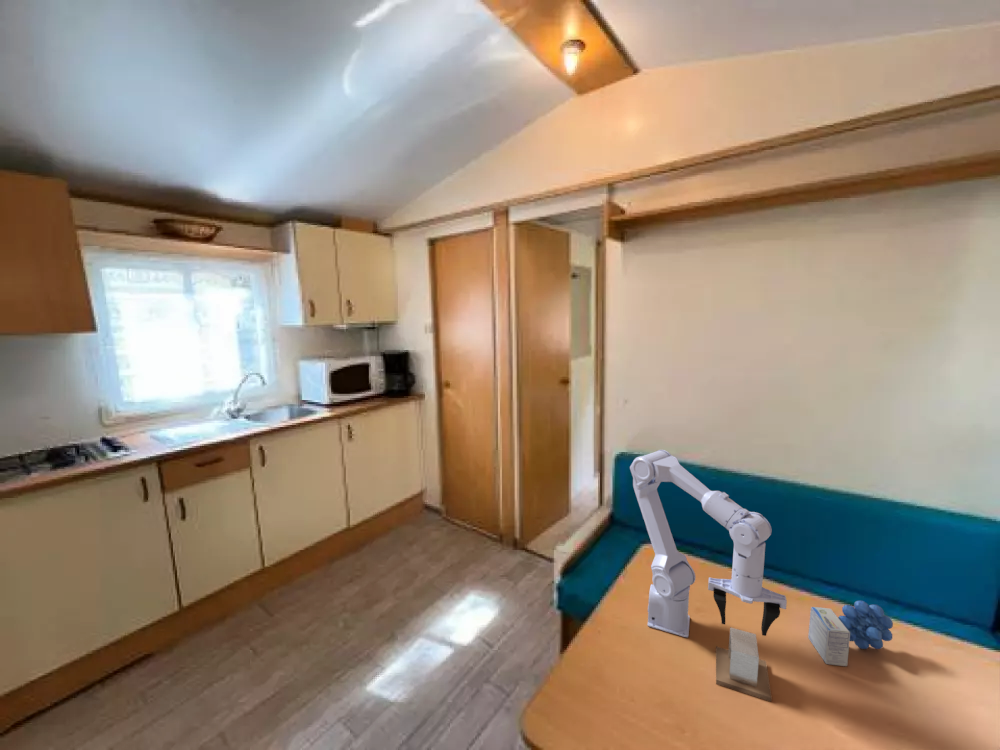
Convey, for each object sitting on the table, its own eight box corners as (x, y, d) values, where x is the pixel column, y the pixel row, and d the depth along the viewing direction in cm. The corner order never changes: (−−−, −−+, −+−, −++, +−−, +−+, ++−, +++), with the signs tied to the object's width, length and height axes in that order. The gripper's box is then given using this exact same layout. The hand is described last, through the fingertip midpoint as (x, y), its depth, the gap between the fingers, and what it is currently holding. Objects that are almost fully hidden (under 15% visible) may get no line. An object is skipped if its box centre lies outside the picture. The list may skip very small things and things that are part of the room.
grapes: (847, 661, 96) (853, 613, 94) (828, 638, 103) (833, 593, 101) (904, 665, 94) (911, 616, 93) (881, 641, 101) (887, 596, 99)
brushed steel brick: (729, 678, 91) (731, 649, 90) (728, 654, 97) (730, 627, 96) (756, 687, 89) (758, 657, 88) (753, 662, 95) (755, 634, 94)
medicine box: (847, 667, 94) (851, 632, 93) (824, 664, 95) (828, 630, 94) (828, 640, 102) (831, 608, 101) (807, 638, 103) (810, 605, 101)
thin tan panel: (716, 683, 91) (717, 667, 90) (715, 650, 100) (716, 634, 99) (771, 701, 87) (772, 684, 86) (765, 664, 95) (767, 649, 95)
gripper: (709, 571, 91) (705, 628, 93) (790, 590, 84) (785, 651, 86) (710, 554, 97) (706, 608, 99) (785, 570, 90) (780, 627, 93)
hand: (743, 626), depth 93 cm, fingers open, 7 cm apart
